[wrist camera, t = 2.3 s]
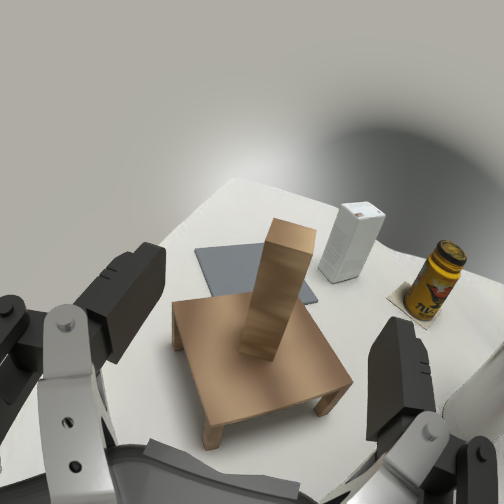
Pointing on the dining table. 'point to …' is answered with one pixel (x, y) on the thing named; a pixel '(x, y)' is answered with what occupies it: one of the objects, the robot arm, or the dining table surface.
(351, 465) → the dining table surface
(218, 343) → the wooden stool with post
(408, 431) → the robot arm
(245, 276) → the mat
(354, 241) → the skincare box
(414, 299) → the condiment
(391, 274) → the dining table surface
